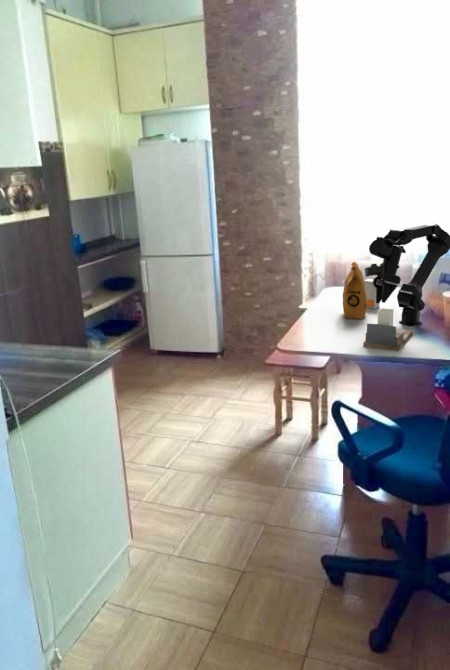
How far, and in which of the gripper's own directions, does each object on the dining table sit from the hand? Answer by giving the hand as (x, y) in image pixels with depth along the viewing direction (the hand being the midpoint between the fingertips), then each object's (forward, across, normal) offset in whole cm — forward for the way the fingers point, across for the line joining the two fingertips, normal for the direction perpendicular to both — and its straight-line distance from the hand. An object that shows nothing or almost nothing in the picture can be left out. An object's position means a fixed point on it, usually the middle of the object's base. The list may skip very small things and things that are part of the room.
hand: (380, 302), depth 206 cm
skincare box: (0, -40, +5) cm, 41 cm away
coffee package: (+6, -28, -3) cm, 29 cm away
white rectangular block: (+13, +9, +3) cm, 16 cm away
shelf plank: (+13, +5, +5) cm, 15 cm away
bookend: (+15, +13, +1) cm, 20 cm away
